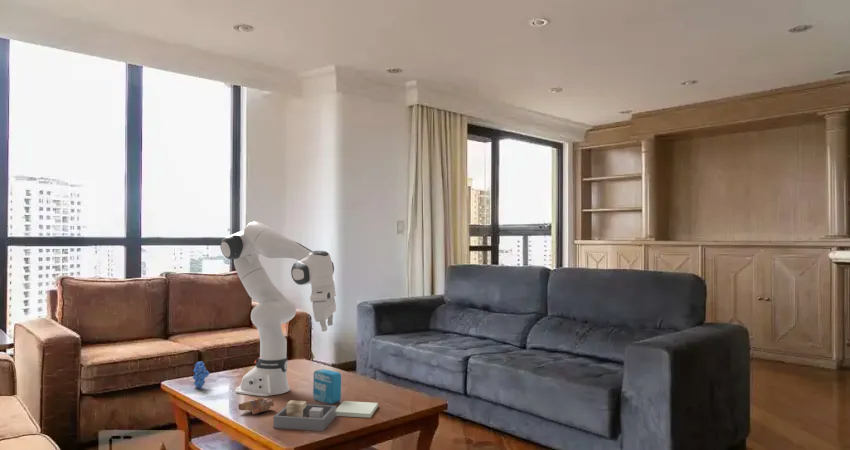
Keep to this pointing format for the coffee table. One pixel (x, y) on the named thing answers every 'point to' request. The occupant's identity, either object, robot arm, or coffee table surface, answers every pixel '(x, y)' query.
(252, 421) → the coffee table surface
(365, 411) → the board
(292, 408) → the birch box
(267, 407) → the mineral specimen
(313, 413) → the grey box
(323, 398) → the data package
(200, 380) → the grapes
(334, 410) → the bin
